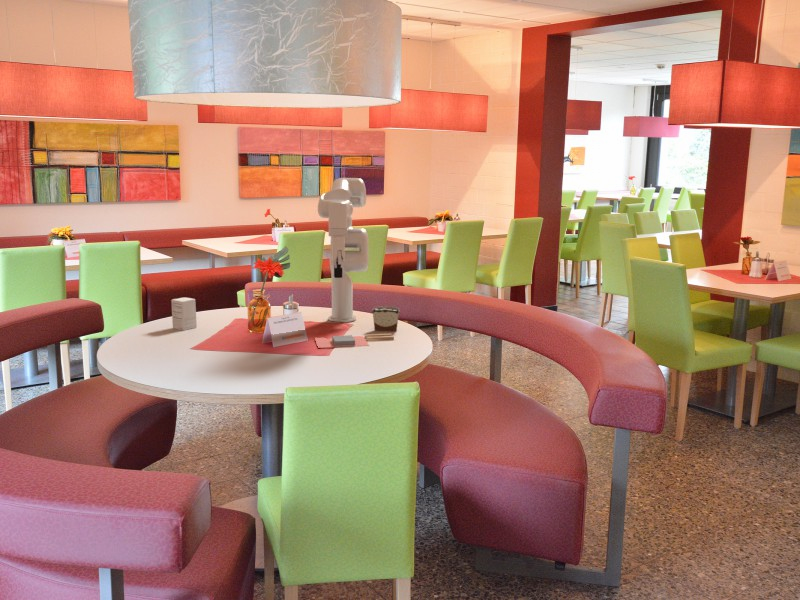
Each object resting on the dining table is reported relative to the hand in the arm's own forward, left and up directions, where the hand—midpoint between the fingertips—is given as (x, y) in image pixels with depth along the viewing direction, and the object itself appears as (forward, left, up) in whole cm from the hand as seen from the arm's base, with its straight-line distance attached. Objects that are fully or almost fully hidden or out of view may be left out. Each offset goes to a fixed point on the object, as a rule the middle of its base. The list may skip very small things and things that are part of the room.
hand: (338, 277), depth 312 cm
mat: (+9, 0, -25) cm, 27 cm away
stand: (+6, +16, -25) cm, 30 cm away
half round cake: (-10, +22, -25) cm, 35 cm away
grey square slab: (+12, -3, -24) cm, 27 cm away
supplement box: (-28, -63, -25) cm, 73 cm away
